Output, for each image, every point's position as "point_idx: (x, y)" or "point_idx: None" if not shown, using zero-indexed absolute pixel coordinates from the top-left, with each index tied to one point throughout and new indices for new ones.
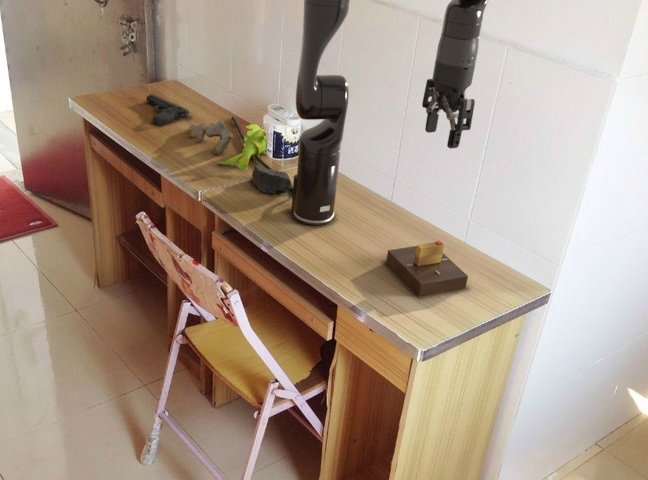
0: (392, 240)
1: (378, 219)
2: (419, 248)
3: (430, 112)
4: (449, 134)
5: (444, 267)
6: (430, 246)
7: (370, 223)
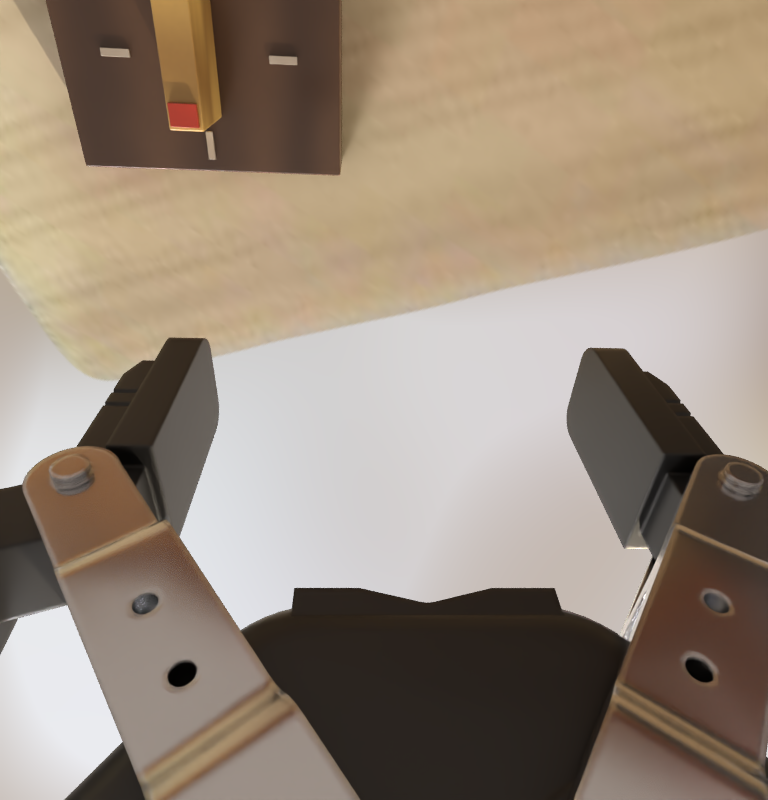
0: (489, 76)
1: (653, 117)
2: None
3: (686, 489)
4: (162, 407)
5: (156, 110)
6: (162, 52)
7: (645, 61)
